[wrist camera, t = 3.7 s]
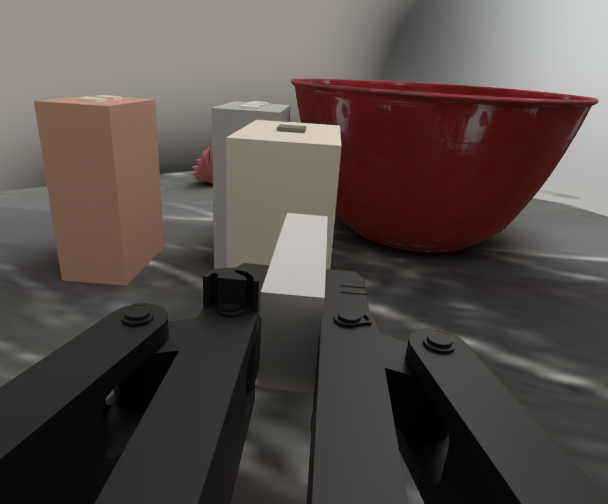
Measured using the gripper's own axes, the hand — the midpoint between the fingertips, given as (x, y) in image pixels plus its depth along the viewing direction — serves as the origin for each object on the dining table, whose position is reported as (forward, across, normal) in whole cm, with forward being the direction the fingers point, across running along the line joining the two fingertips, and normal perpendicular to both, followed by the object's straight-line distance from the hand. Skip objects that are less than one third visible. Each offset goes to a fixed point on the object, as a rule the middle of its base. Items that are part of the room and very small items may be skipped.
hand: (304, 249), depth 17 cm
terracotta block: (+18, -16, -10) cm, 26 cm away
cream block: (+8, -1, -10) cm, 13 cm away
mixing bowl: (+33, +11, -10) cm, 36 cm away
